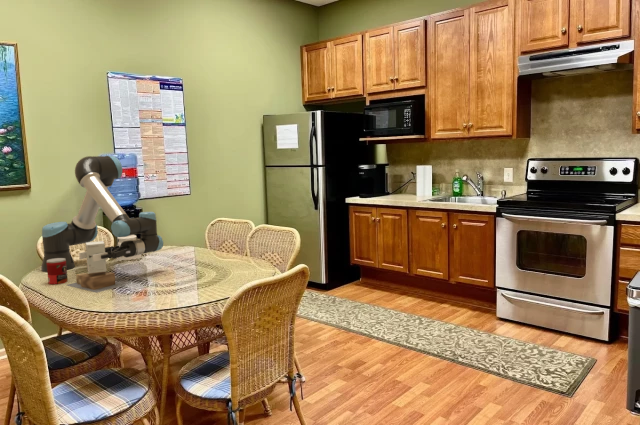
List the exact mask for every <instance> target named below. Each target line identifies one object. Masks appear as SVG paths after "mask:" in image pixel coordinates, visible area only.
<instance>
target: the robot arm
mask: <svg viewBox="0 0 640 425" xmlns="http://www.w3.org/2000/svg"><path fill="white" fill-rule="evenodd" d="M122 174H123V166H122V163H121V161H120V160H119V158H117V157H116V156H113V155H105V156H104V155H103V156H101V155H100V156H98V155H95V156H94V155H93V156H90V155H89V156H88V155H87V156H84V157H82V158H80V159H79V160H78V162H77V163H76V165H75V167H74V175H75V178H76V181H77V182H78V184H79V185H80V186H81V187H82V188H85V189H86V192H85V195H84V197H83V200H82V203H81V205H80V208H79V209H78V213H77V215H74V216H73V217H72V219H71V222H69V223H67V221H57V222H52V223H48V224H46V225H43V227H42V229H41V237H42V245H43V246H42V247H43V258H42V263H41V266H40V267H41V272H47V263H46V262H47V260H49V259H54V258H65V259H66V267H67V271H68V270H71V269H74V268H75V267H76V266H75V265H76V263H75V261H74V258H73V256H72V255H71V251H70V247H71V246H77V245H83V244H85V243H87V242H94V240H95V239H96V238H97V237H98V234H99V231H98V225H97V222H96V218H97V214H98V212H99V210H100V209H101V211H102V212H103V213H104V214H105V216H106V217H107V219H108V220H109V221H110V222H111V226H110V230H111V233H112V235H114V237H116V238H118V237H126V236H130V235H135V236H136V235H140V238H138V237H136V240H129V241H124V242H122V243H121V245H120V247H119V246H117V245H115V246H114V245H111V246H107V247H106V246H105V253H101V254H96V255H92V258H93V262H95V261H100V260H104V259H106V260H108V259H112V260H115V259H117V258H118V257H122V256H124V257H131V256H136V255H141V256H142V255H144V254H149V253H154V252H158V251H161V250H162V248H163V247H164V240H163V237H162V236H161V235H159V234H158V228H157V216H156V213H155V212H154V211H142V212H139V214H138V217H132V218H130V217H129V215H128V214H127V213H126V211H124V209H123V207H121V205H120V204H119V202H118V201H117V199H116V198H115V196H113V194H112V193H111V192H110V191H109V189H108V188H110V187H111V186H112V185H113V184H114V181H115V180H118V179H120V178H121V177H122ZM78 257H79V260H84V259H87V256H86V251H81V252H79V253H78Z"/></svg>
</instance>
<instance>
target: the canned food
mask: <svg viewBox="0 0 640 425" xmlns="http://www.w3.org/2000/svg"><path fill="white" fill-rule="evenodd" d="M46 263H47V281H48V284H49V285H62V284H66V283H68V281H69V280H68V270H67V267H66V259H65V258H54V259H49V260H47V262H46Z"/></svg>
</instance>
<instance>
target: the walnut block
mask: <svg viewBox="0 0 640 425" xmlns="http://www.w3.org/2000/svg"><path fill="white" fill-rule="evenodd" d="M80 279H81V287H85V288H89V289H93V290H96V289H99V288H103V287H107V286H111V285H115V282H116V274H115V272H110V271H106V272H97V273H90V274H89V273H88V274H84V275H80Z"/></svg>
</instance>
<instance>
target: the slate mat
mask: <svg viewBox="0 0 640 425" xmlns="http://www.w3.org/2000/svg"><path fill="white" fill-rule="evenodd" d="M66 286H68V287H72V288H74V289H75V288H76V289H80V290H84V291H87V292H92V293H96V294H97V293H101V292H105V291H108V290H112V289H115V288H119V287H124V286H127V284H124V283H119V282H116V281H115V285H111V286H107V287H103V288H99V289H96V290H93V289H89V288H85V287H81V284H77V281H76V282H72V283H68V284H66Z"/></svg>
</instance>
